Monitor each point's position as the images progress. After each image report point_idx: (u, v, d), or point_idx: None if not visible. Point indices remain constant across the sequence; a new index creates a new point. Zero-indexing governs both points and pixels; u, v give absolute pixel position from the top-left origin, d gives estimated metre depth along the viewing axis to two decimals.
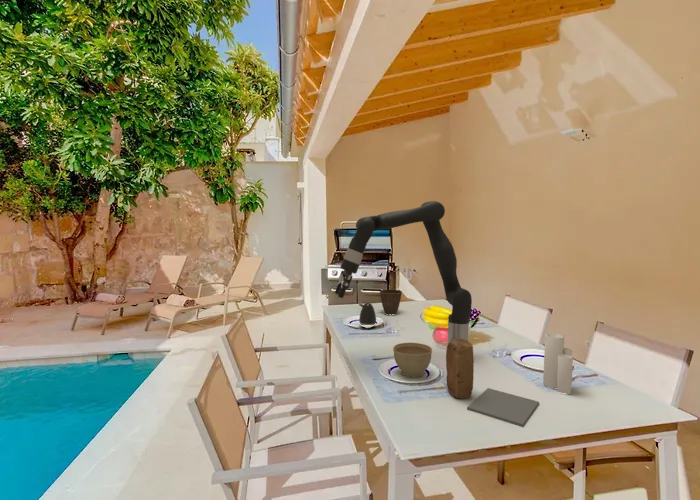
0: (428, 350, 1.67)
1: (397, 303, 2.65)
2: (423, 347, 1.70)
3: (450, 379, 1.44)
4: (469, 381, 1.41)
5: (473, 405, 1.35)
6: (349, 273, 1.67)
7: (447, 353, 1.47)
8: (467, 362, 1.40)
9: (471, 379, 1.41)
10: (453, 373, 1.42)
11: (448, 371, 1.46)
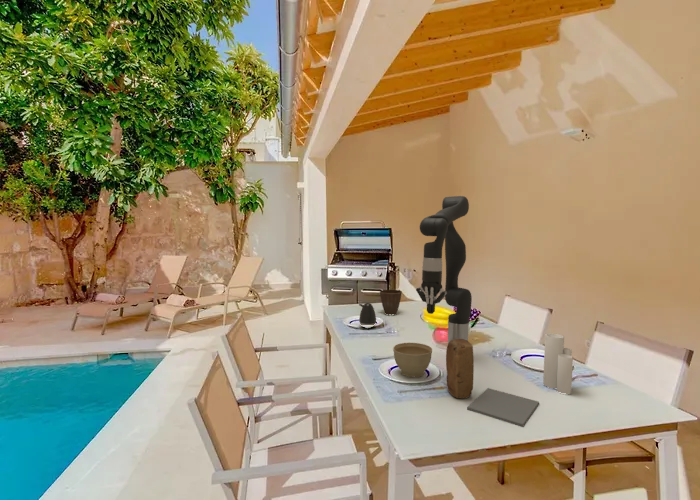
0: (428, 350, 1.67)
1: (397, 303, 2.65)
2: (423, 347, 1.70)
3: (450, 379, 1.44)
4: (469, 381, 1.41)
5: (473, 405, 1.35)
6: (440, 284, 1.51)
7: (447, 353, 1.47)
8: (467, 362, 1.40)
9: (471, 379, 1.41)
10: (453, 373, 1.42)
11: (448, 371, 1.46)
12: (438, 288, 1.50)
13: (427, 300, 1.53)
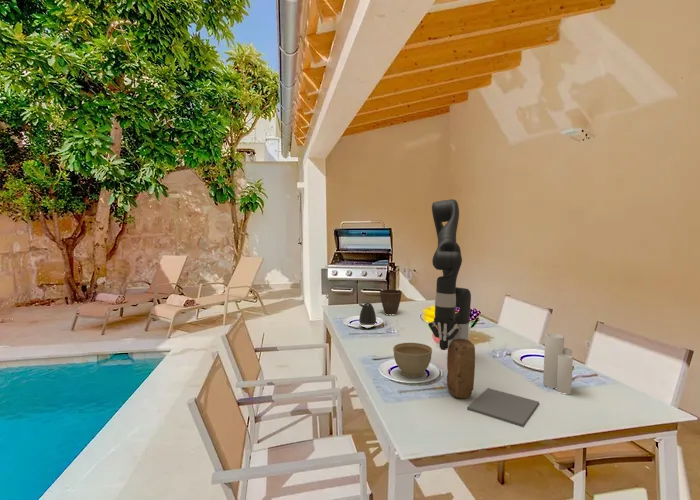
0: (428, 350, 1.67)
1: (397, 303, 2.65)
2: (423, 347, 1.70)
3: (451, 378, 1.44)
4: (470, 382, 1.41)
5: (473, 405, 1.35)
6: (454, 320, 1.46)
7: (448, 353, 1.47)
8: (468, 363, 1.40)
9: (472, 379, 1.41)
10: (454, 373, 1.41)
11: (449, 371, 1.45)
12: (452, 324, 1.45)
13: (440, 336, 1.48)
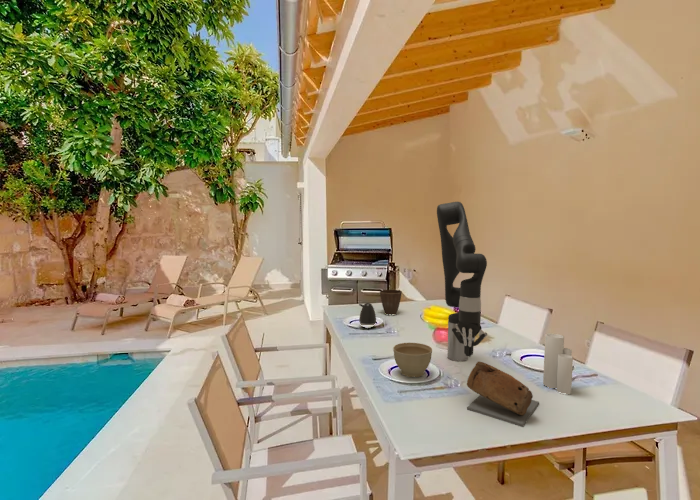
0: (428, 350, 1.67)
1: (397, 303, 2.65)
2: (423, 347, 1.70)
3: (483, 382, 1.34)
4: None
5: (473, 405, 1.35)
6: (479, 324, 1.40)
7: (512, 383, 1.29)
8: None
9: None
10: (489, 392, 1.31)
11: (492, 380, 1.33)
12: (477, 330, 1.39)
13: (465, 342, 1.42)
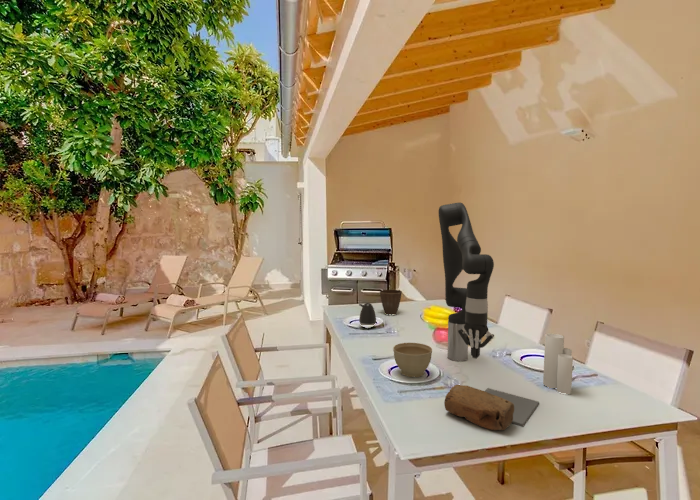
0: (428, 350, 1.67)
1: (397, 303, 2.65)
2: (423, 347, 1.70)
3: None
4: None
5: None
6: (486, 326, 1.38)
7: None
8: None
9: None
10: None
11: None
12: (484, 331, 1.38)
13: (471, 343, 1.41)
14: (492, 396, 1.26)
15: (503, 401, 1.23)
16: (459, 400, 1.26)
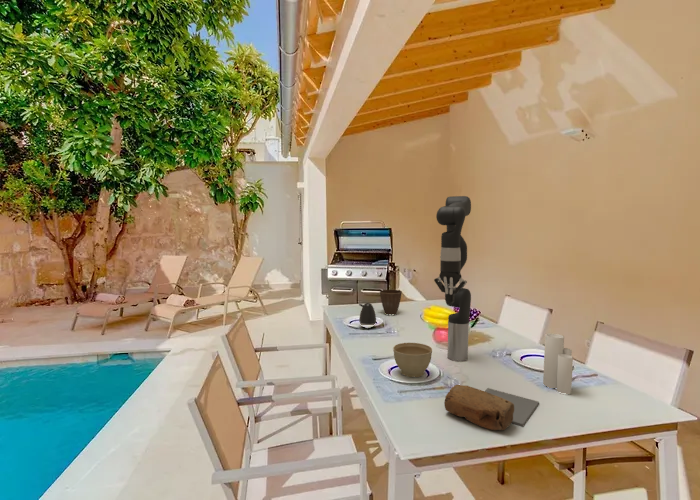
0: (428, 350, 1.67)
1: (397, 303, 2.65)
2: (423, 347, 1.70)
3: None
4: None
5: None
6: (459, 273, 1.49)
7: None
8: None
9: None
10: None
11: None
12: (457, 278, 1.48)
13: (446, 290, 1.51)
14: (492, 396, 1.26)
15: (503, 401, 1.23)
16: (459, 400, 1.26)
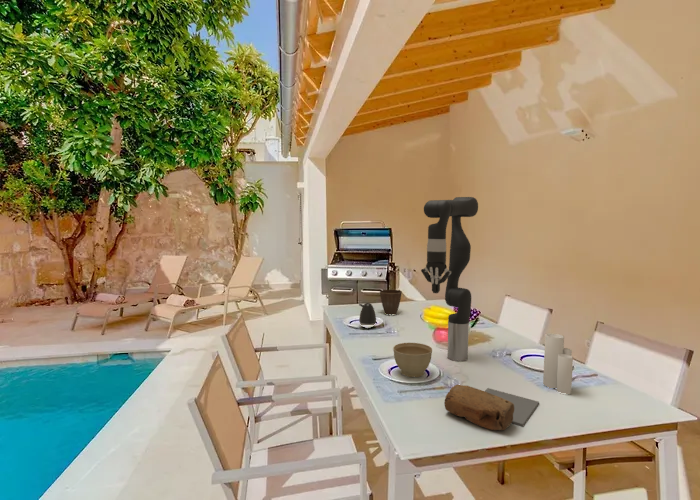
0: (428, 350, 1.67)
1: (397, 303, 2.65)
2: (423, 347, 1.70)
3: None
4: None
5: None
6: (445, 264, 1.56)
7: None
8: None
9: None
10: None
11: None
12: (443, 268, 1.55)
13: (432, 280, 1.58)
14: (492, 396, 1.26)
15: (503, 401, 1.23)
16: (459, 400, 1.26)
